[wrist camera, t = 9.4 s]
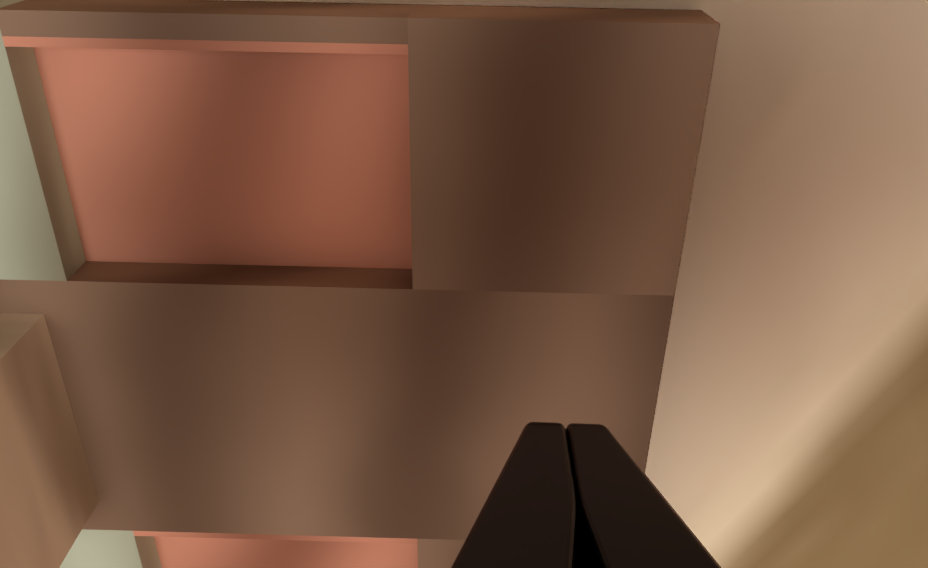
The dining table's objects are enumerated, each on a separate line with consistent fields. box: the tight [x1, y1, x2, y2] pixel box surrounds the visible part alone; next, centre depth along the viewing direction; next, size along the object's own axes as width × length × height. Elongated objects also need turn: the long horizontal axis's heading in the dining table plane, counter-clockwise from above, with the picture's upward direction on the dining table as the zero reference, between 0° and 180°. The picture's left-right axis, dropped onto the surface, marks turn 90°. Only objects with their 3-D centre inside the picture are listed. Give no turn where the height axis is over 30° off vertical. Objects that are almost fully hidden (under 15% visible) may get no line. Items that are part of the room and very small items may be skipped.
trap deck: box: [0, 0, 720, 568], centre depth 20 cm, size 23×20×3 cm
